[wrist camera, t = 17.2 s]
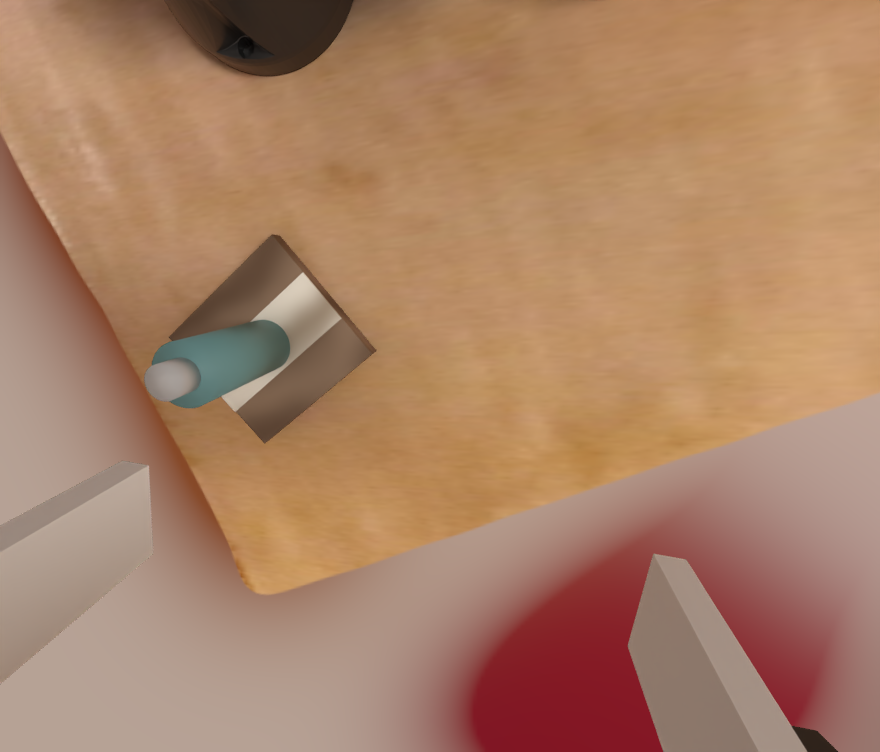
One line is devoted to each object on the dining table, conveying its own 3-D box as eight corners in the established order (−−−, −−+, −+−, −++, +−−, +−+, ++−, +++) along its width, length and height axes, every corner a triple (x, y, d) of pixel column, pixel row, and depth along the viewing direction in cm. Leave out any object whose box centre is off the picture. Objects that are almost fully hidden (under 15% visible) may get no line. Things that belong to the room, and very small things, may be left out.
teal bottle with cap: (231, 341, 41) (113, 376, 28) (265, 308, 40) (158, 331, 27) (265, 380, 42) (165, 431, 29) (300, 349, 40) (211, 389, 28)
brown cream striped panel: (179, 334, 43) (167, 337, 42) (279, 235, 40) (270, 234, 38) (272, 437, 45) (263, 444, 43) (376, 350, 41) (371, 354, 40)
